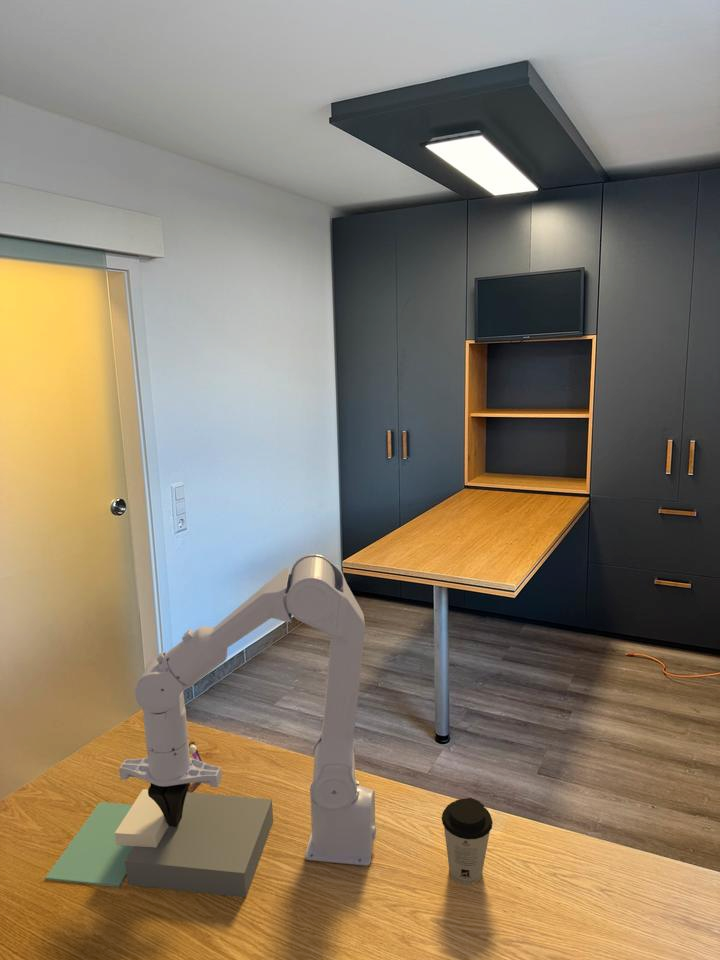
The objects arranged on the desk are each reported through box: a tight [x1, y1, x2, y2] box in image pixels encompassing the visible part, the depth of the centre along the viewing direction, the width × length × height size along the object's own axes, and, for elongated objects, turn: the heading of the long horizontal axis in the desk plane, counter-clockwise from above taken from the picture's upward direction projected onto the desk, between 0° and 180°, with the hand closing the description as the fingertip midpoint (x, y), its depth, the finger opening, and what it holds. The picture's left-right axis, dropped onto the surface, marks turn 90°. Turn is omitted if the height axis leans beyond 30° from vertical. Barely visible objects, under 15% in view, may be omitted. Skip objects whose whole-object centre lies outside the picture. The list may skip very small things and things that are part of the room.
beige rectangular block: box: [115, 788, 168, 848], centre depth 98 cm, size 6×9×2 cm, turn 172°
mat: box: [44, 801, 133, 888], centre depth 100 cm, size 11×15×1 cm
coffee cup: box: [441, 797, 494, 885], centre depth 92 cm, size 7×7×10 cm
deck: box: [125, 791, 274, 898], centre depth 97 cm, size 17×14×4 cm
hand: (175, 821), depth 97 cm, fingers closed
